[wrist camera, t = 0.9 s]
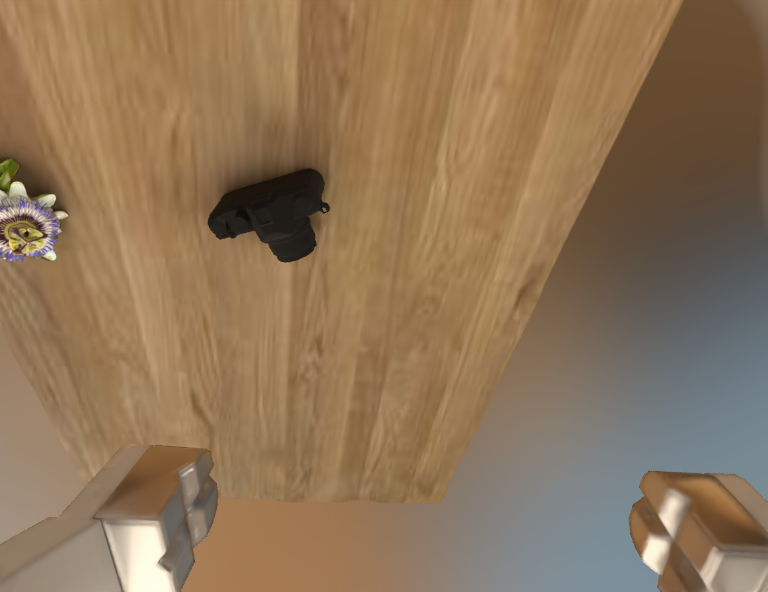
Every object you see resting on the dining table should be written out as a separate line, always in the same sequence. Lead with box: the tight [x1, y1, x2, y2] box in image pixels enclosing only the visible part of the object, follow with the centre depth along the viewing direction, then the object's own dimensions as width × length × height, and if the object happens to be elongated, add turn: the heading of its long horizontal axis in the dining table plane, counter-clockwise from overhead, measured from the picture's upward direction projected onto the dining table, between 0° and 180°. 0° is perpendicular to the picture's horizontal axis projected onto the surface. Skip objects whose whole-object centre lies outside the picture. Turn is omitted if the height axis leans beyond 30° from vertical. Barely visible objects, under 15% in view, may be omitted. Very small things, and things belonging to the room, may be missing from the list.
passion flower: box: [0, 159, 68, 262], centre depth 51 cm, size 11×11×12 cm
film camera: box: [208, 169, 330, 262], centre depth 52 cm, size 15×10×9 cm, turn 105°
